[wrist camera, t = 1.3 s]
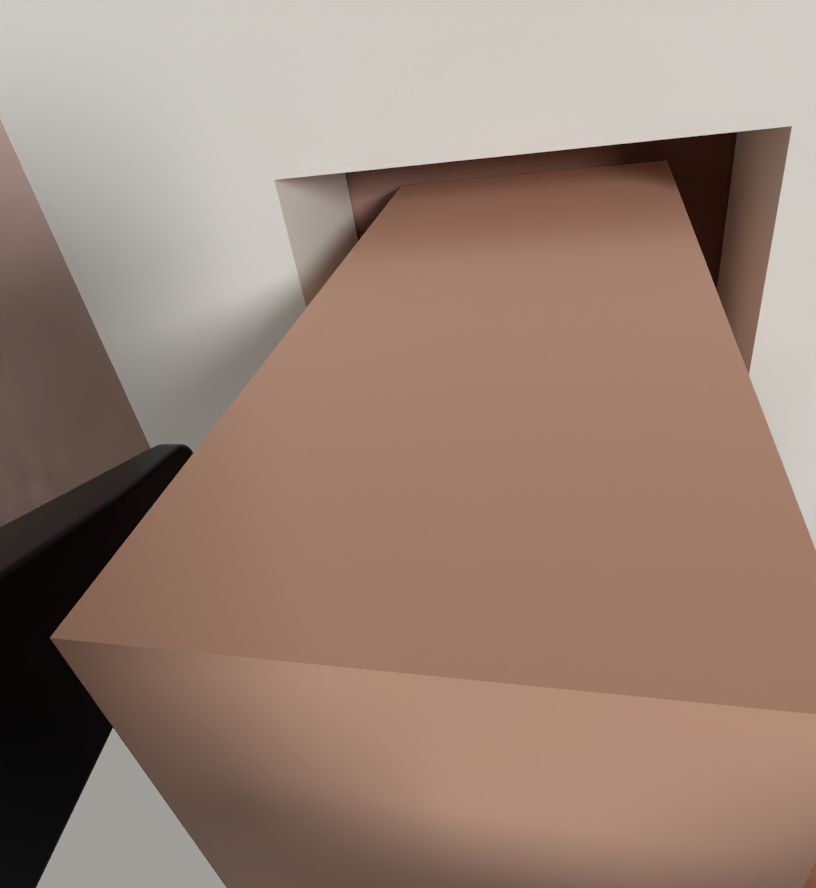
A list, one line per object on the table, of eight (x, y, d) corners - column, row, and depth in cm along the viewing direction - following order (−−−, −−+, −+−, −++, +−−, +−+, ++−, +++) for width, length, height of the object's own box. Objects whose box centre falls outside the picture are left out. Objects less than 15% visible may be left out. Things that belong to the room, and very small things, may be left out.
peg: (666, 159, 11) (881, 720, 3) (649, 395, 13) (738, 1026, 6) (401, 185, 12) (50, 636, 4) (432, 397, 14) (251, 922, 7)
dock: (1239, -417, 7) (1601, -620, 4) (870, 581, 15) (922, 700, 13) (45, -114, 10) (-115, -132, 8) (281, 549, 19) (236, 637, 16)
